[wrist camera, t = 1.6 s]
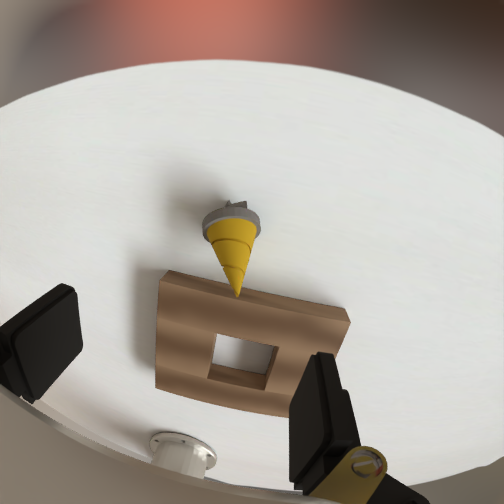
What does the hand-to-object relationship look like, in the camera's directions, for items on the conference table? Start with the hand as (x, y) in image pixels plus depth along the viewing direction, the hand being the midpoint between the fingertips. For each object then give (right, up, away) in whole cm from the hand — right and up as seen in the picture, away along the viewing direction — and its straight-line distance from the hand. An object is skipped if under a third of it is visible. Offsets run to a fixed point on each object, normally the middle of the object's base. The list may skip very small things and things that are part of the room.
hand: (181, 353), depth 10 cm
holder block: (+2, -8, +23) cm, 25 cm away
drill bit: (+2, +6, +19) cm, 20 cm away
